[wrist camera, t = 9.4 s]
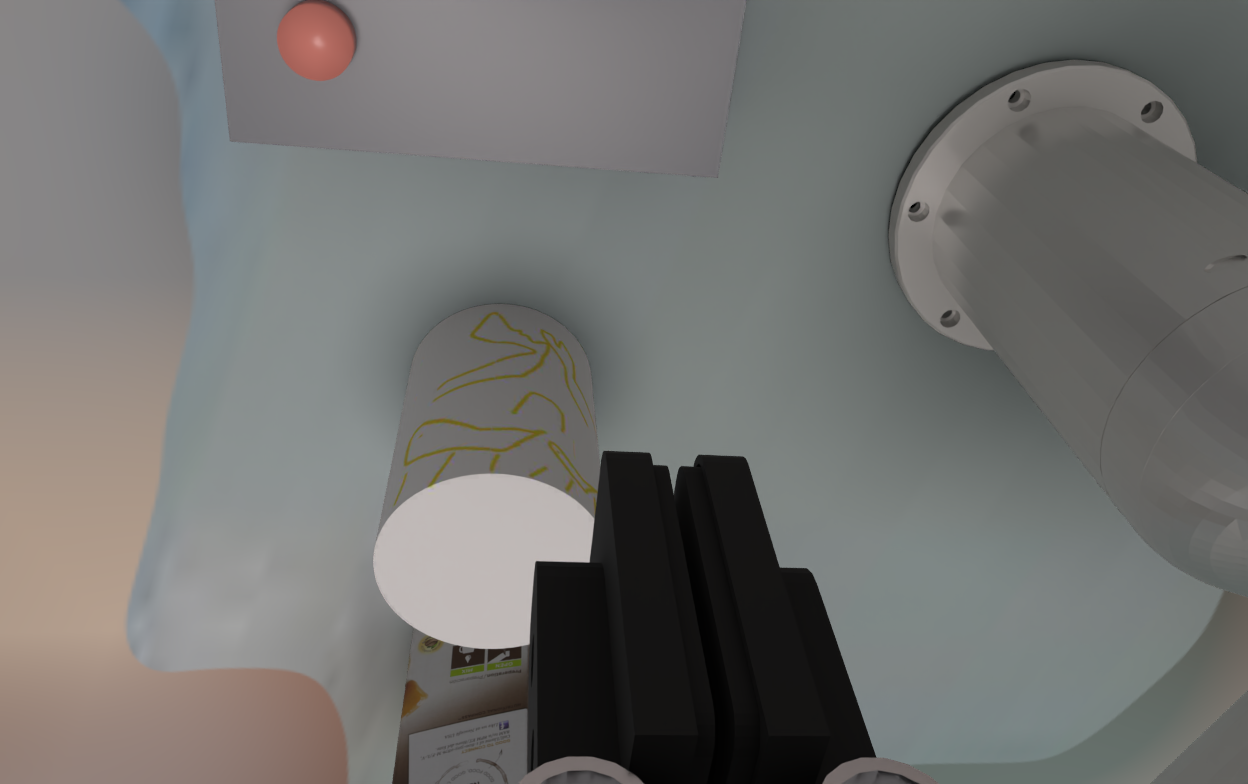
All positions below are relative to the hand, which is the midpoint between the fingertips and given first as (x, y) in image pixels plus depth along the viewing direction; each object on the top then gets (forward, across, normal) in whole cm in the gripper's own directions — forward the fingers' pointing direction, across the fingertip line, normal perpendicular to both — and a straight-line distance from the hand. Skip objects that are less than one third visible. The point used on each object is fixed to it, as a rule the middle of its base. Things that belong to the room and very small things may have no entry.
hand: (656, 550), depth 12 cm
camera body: (+29, +3, -1) cm, 29 cm away
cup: (+29, +2, +16) cm, 33 cm away
